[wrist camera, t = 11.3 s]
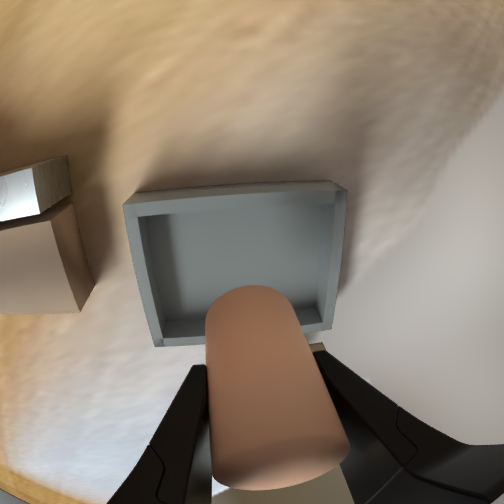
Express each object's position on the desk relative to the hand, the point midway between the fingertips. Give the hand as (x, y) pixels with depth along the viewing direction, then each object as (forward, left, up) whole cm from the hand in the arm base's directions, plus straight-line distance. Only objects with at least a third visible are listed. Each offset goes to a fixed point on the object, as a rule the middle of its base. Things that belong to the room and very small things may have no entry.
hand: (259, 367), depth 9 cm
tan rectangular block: (+1, +12, -8) cm, 15 cm away
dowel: (0, 0, -2) cm, 2 cm away
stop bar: (+6, +12, -8) cm, 15 cm away
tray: (0, 0, -8) cm, 8 cm away
